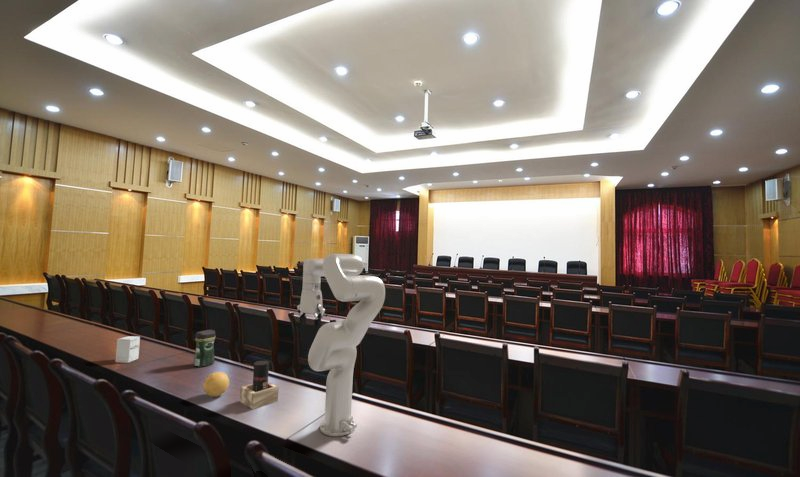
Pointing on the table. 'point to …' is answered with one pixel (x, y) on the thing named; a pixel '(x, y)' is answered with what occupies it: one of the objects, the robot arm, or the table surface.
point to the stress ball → (216, 384)
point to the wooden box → (258, 396)
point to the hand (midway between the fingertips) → (309, 326)
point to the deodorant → (260, 375)
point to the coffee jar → (204, 348)
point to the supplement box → (127, 349)
